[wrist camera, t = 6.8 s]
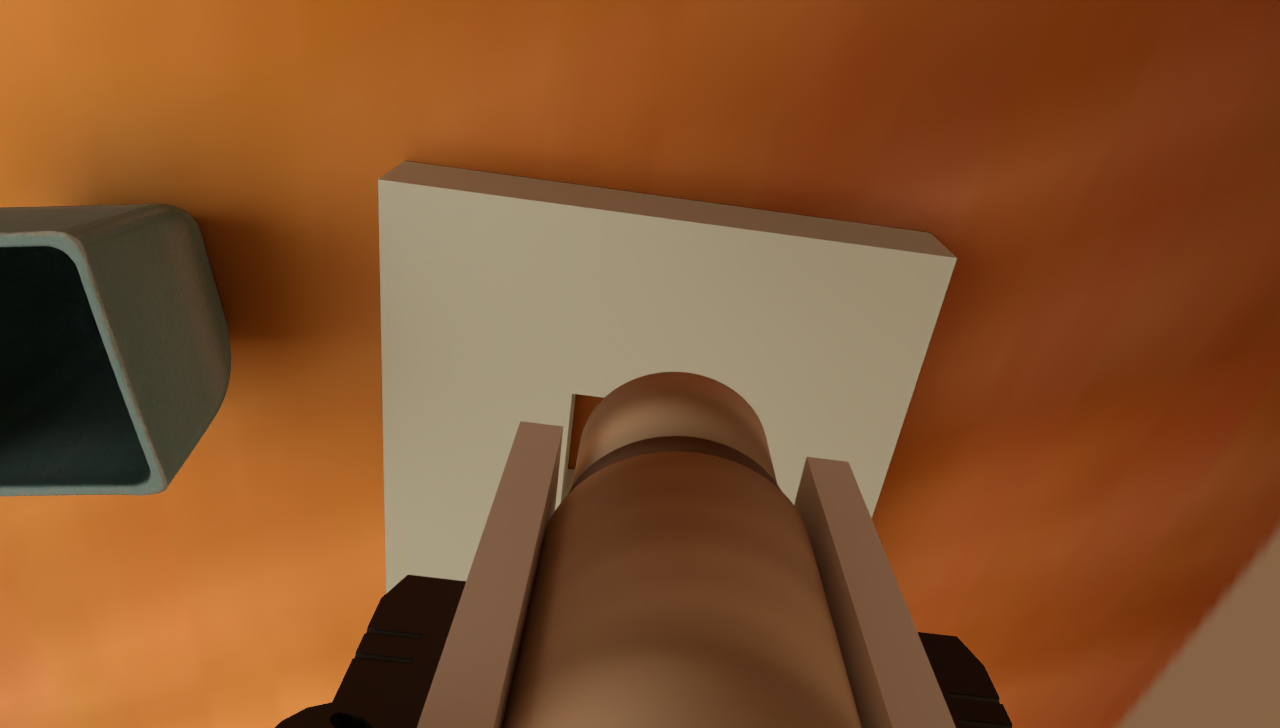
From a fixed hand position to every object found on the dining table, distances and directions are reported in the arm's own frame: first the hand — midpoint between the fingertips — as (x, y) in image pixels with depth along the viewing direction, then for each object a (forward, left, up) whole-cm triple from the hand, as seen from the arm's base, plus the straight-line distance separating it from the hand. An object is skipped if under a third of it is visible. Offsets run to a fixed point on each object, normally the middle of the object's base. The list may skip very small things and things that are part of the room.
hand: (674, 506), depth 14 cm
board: (0, -9, -17) cm, 20 cm away
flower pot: (-20, -5, -18) cm, 27 cm away
